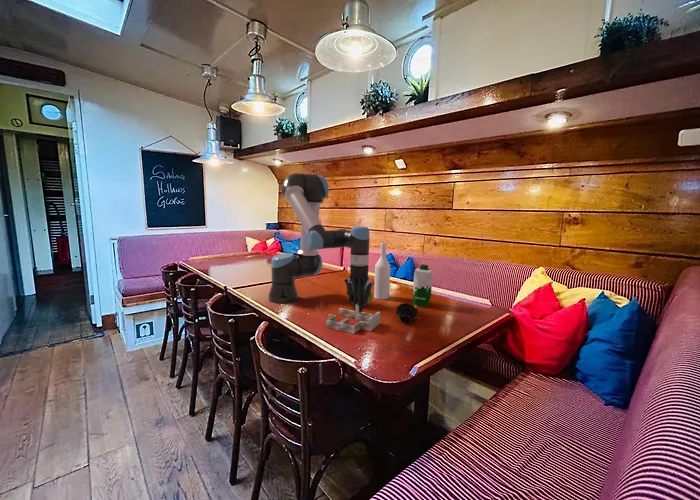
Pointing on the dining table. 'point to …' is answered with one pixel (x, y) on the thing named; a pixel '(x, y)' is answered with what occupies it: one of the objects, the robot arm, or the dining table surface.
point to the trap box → (345, 324)
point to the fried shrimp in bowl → (406, 312)
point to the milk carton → (422, 286)
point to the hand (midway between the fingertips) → (358, 318)
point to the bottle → (382, 276)
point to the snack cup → (364, 294)
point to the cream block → (363, 317)
